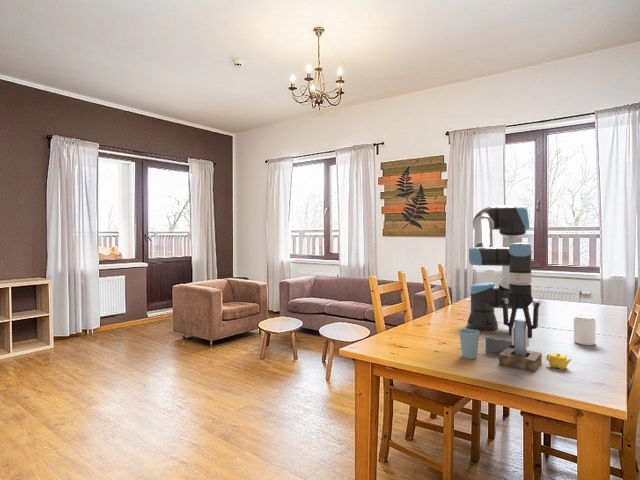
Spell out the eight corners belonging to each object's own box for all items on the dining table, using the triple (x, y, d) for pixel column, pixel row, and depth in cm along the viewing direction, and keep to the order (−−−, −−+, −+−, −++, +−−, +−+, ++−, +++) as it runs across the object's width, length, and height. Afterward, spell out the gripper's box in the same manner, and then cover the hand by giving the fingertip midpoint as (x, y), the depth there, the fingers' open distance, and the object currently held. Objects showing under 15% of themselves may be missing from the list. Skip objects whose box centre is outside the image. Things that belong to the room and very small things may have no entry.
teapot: (574, 368, 144) (574, 354, 144) (569, 372, 140) (569, 357, 140) (549, 363, 150) (549, 349, 150) (545, 366, 146) (544, 353, 146)
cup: (456, 353, 163) (456, 328, 163) (475, 353, 162) (475, 328, 162) (462, 359, 155) (462, 333, 155) (482, 359, 155) (482, 333, 154)
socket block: (499, 365, 148) (499, 354, 148) (507, 357, 157) (507, 347, 157) (534, 371, 141) (534, 360, 141) (541, 363, 150) (541, 352, 150)
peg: (513, 357, 149) (513, 320, 148) (516, 355, 152) (515, 319, 151) (525, 359, 146) (524, 322, 146) (527, 357, 149) (527, 320, 149)
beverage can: (585, 346, 170) (585, 319, 170) (569, 341, 178) (569, 315, 178) (600, 345, 172) (600, 317, 172) (583, 340, 180) (583, 314, 180)
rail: (485, 352, 164) (485, 337, 164) (486, 351, 165) (486, 337, 165) (522, 358, 155) (522, 343, 155) (523, 357, 156) (523, 342, 156)
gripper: (493, 283, 151) (493, 343, 151) (543, 286, 140) (543, 351, 140) (499, 281, 157) (499, 339, 157) (547, 284, 146) (547, 346, 146)
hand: (520, 345), depth 149 cm, fingers closed on peg, 4 cm apart
